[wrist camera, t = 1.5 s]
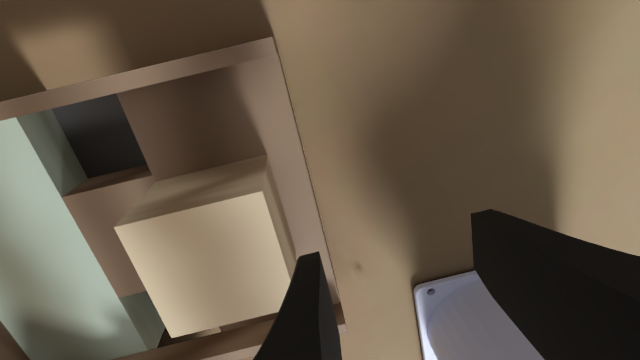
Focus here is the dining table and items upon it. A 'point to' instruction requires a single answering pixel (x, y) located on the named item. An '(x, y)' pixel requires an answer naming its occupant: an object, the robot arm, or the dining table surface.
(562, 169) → the dining table surface
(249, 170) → the maple block
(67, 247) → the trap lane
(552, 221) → the dining table surface
